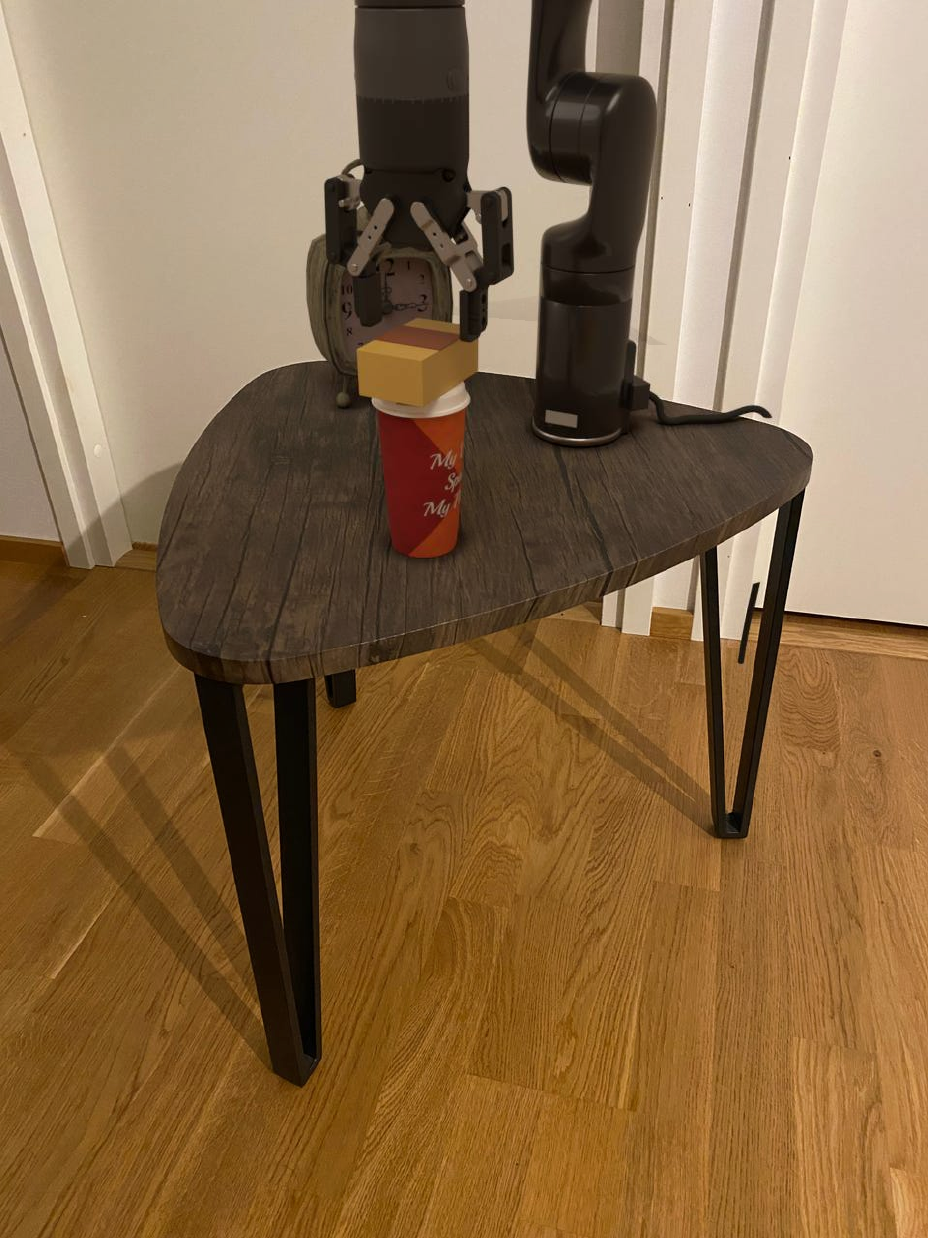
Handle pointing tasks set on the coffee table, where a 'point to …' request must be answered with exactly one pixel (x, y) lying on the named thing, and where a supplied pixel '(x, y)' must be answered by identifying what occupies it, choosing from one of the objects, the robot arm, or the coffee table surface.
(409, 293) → the tabletop clock
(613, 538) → the coffee table surface
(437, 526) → the paper cup
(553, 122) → the robot arm
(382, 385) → the tea packet
